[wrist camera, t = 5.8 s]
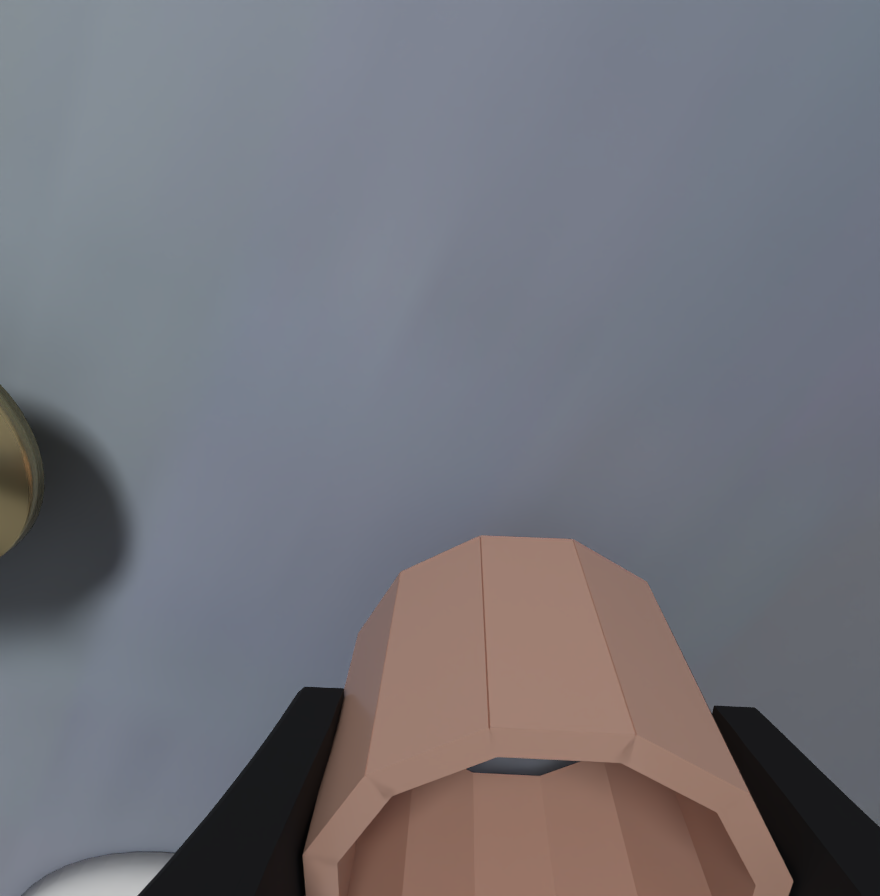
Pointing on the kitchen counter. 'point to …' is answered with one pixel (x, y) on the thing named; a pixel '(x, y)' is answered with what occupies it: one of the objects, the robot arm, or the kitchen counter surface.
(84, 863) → the white glossy domed part
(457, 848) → the sleeve
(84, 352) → the kitchen counter surface
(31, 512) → the balance
